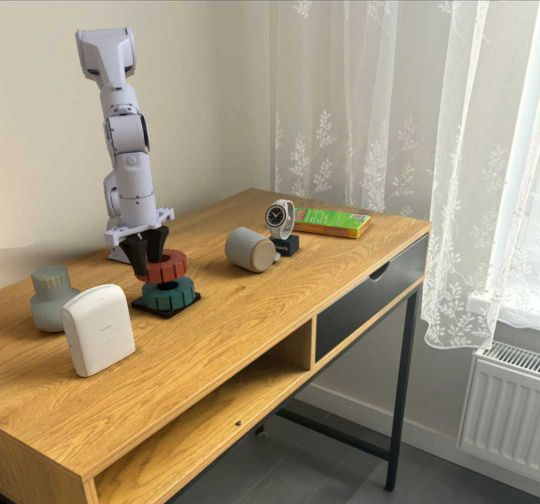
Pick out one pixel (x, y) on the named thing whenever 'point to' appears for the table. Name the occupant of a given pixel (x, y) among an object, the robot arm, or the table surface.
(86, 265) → the table surface
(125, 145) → the robot arm
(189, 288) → the teal ring
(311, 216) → the game box
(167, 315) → the peg stand
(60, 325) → the air freshener
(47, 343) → the table surface
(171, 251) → the brick ring
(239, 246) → the ceramic mug
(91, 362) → the photo printer
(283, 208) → the watch
